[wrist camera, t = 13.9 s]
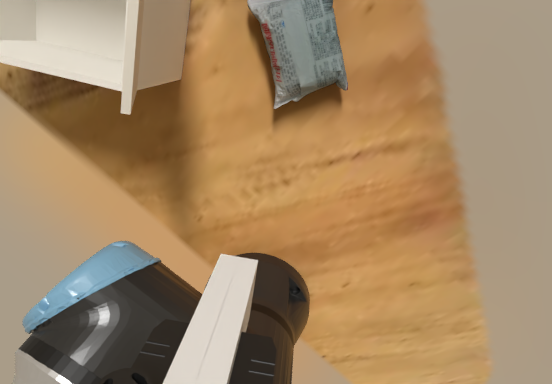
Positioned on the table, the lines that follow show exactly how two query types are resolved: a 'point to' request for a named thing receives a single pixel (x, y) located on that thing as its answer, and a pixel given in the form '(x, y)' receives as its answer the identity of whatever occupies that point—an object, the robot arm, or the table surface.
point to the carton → (93, 39)
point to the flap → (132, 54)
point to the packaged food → (300, 46)
